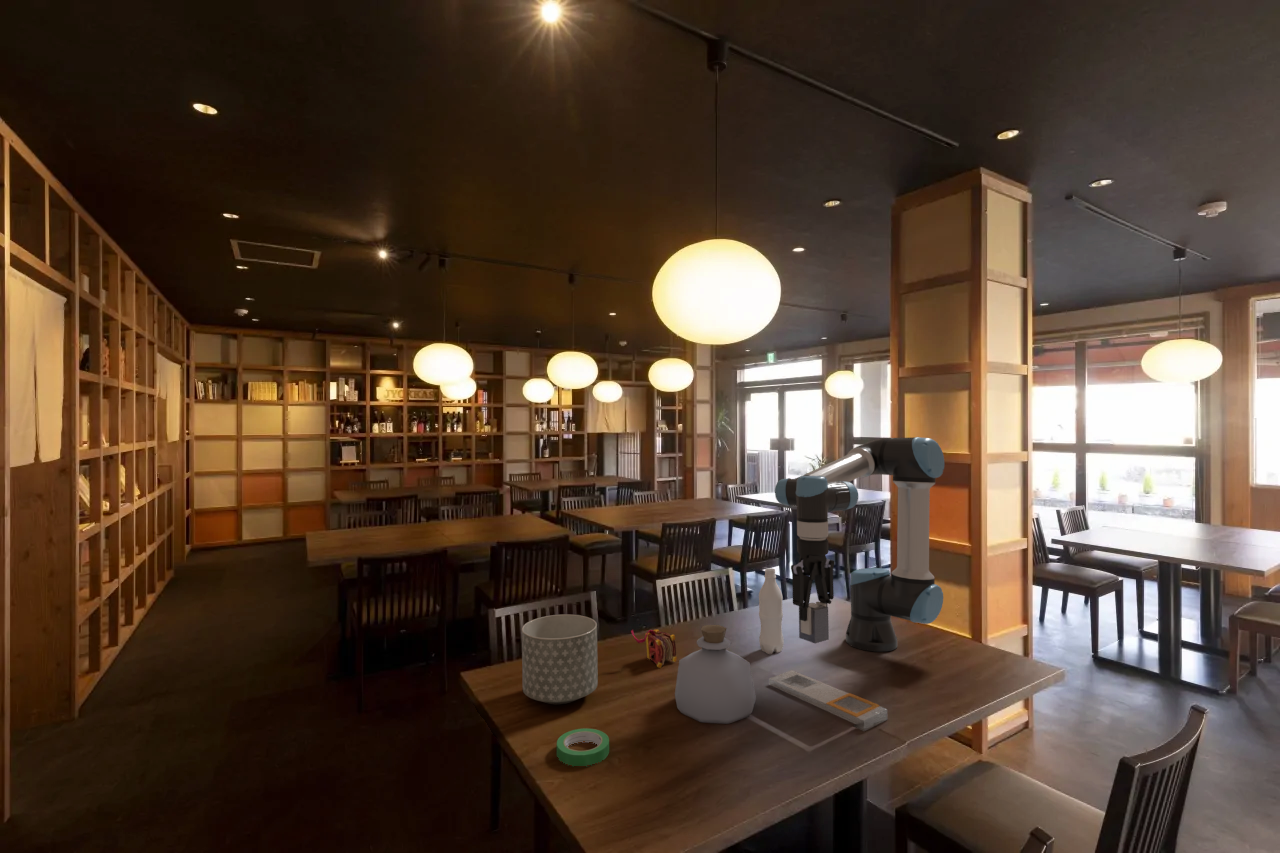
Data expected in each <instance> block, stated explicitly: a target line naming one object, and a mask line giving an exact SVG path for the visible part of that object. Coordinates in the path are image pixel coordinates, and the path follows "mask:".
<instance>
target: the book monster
mask: <svg viewBox="0 0 1280 853" xmlns="http://www.w3.org/2000/svg"><path fill="white" fill-rule="evenodd" d="M630 632H631V635H632V636H633V637H634V640H635V641H636V642H637V643H638V644H640V643H644V642H645V644H646V655H647V656H646V657H647V658H649V659H651V660H650V661H653V663H654V664H656V667H657V668H660V669H661V668H662V666H664V664H665V662H669V661H672V662H673V663H674V662H677V660H678V659H677V658H678V657H677V648H676V641H675V640H676V634H670V633H668V632H666V631H665V632H664V631H660V630H659V629H649V630H648V631H647V632H645V636H644V638H641V639H638V638H637V637H636V636H635V633H634V629H632V630H630Z"/></svg>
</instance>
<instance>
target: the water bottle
mask: <svg viewBox="0 0 1280 853" xmlns="http://www.w3.org/2000/svg"><path fill="white" fill-rule="evenodd" d="M764 573H765V574H764V582H763V584H762V585H761V588H760V590H759V593H758V599H759V600H758V604H759V606H758V608H759V610H758V611H759V612H758V617H759V619H760V620H759V621H760V631H759V632H760V633H759V639H758V640H759V647H760V650H761V651H762V652H763V653H765V654H767V655H773V653H775V654H777V653H781V652H782V650H783V648H784V645H785V644H784V640H785V639H784V635H783V628H782V626H783V617H784V611H783V593H782V590H781V588H780V587H779V585H778V583H777V581H776V578H777V576H776V569H775V568H769V567H768V568H765V570H764Z"/></svg>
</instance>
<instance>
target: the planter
mask: <svg viewBox="0 0 1280 853" xmlns="http://www.w3.org/2000/svg"><path fill="white" fill-rule="evenodd" d="M597 626H598V624H597V621H595V620H594V619H593V618H591V617H588V616H583V615H580V614H553V615H546V616H542V617H538V618H535V619H532V620H531V619H530V621H527V622H526V623H525V624H523V626H522V628H521V653H522V654H521V662H522V663H521V665H522V667H521V668H522V669H521V670H522V692H523V694H524V695H525V696H527V697H528V698H530V699H531V700H534V701H538V702H543V703H546V704H548V705H565V704H569V703H572V702H575V701H578V700H580V699H581V698H585V697H586V696H588V695H590V694H592V693H593V692H594V691H595V690H596V689H597V687H598V684H599V682H598V680H599V677H598V676H599V675H598V672H599V671H598V627H597Z"/></svg>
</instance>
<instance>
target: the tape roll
mask: <svg viewBox="0 0 1280 853" xmlns="http://www.w3.org/2000/svg"><path fill="white" fill-rule="evenodd" d="M583 741H585V742H583ZM578 742H582V743H589V742H593V743H592V744H594V743H595V744H594V745H596V744H597V746H595V747H593V748H590V749H586V750H576V749H572V748H570V747H568V746H569V745H571V744H574V743H577V744H579V743H578ZM574 745H575V744H574ZM571 746H572V745H571ZM609 753H610V737H609V736H608V735H607V733H605V732H603V731H602V730H599V729H595V728H586V727H585V728H578V729H577V728H576V729H572V730H569V731H567V732H565V733H563V734H561V736H559V737H558V738H557V740H556V757H558V758H559V759H558V758H557V759H558V761H560V762H561V761H562V762H563V763H562V762H561V763H562V764H564V763H565V764H564V765H566V764H568V765H567V766H569V765H572V766H571V767H574V766H586V767H588V766H587V765H591V766H593V765H592V764H595V763H597V764H599V763H601V762H602V760H603V761H604V760H605V759H606V758H608V755H609ZM598 762H599V763H598ZM595 765H596V764H595Z"/></svg>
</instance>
